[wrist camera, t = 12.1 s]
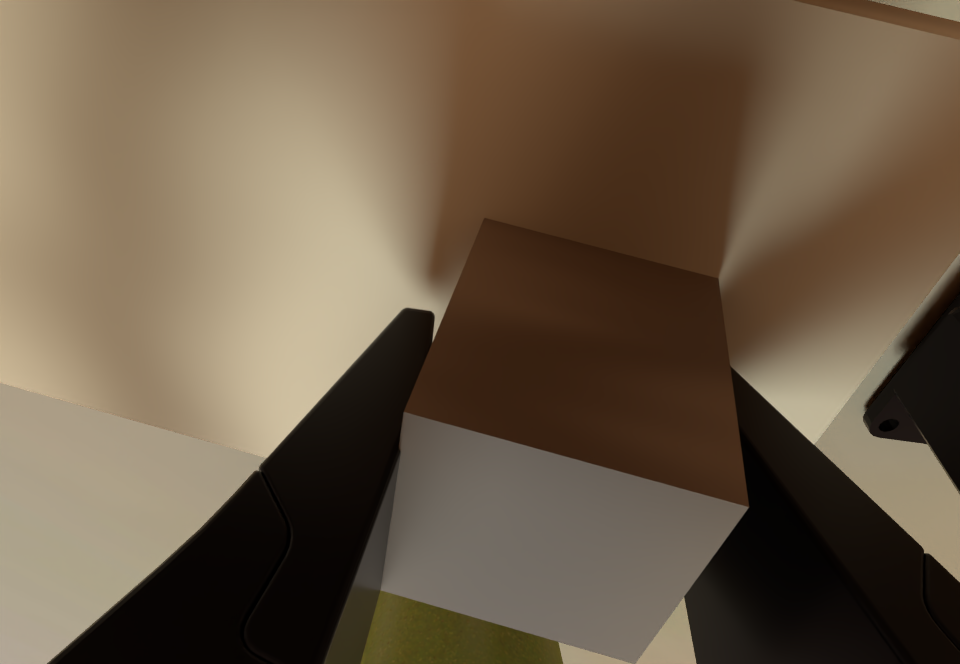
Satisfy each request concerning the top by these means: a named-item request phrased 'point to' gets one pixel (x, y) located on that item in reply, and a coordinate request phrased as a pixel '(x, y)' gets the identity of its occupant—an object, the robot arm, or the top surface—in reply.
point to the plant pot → (447, 637)
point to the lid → (483, 251)
